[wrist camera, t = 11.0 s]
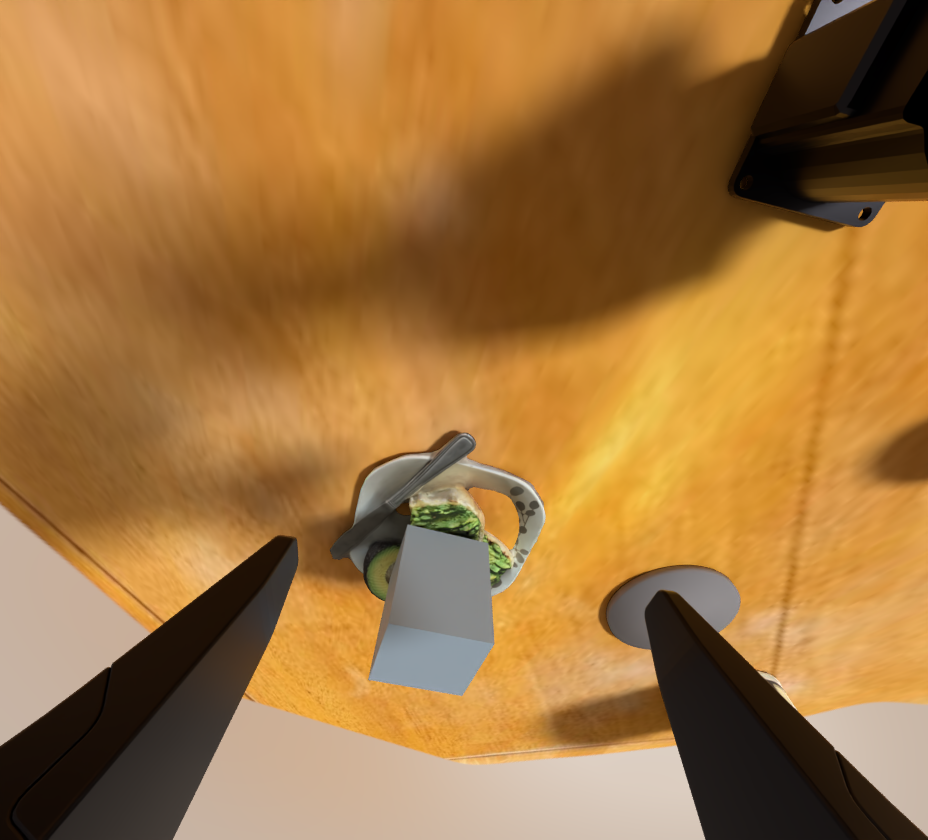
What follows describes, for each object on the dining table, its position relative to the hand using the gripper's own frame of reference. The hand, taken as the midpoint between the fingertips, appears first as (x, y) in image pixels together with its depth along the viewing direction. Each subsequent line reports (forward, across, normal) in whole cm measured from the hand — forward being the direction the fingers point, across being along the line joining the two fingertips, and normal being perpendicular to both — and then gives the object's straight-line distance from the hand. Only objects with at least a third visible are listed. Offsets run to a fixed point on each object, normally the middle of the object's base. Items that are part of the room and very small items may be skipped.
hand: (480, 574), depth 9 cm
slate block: (+10, 0, +12) cm, 15 cm away
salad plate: (+13, 0, +11) cm, 17 cm away
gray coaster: (+13, -19, +17) cm, 29 cm away
